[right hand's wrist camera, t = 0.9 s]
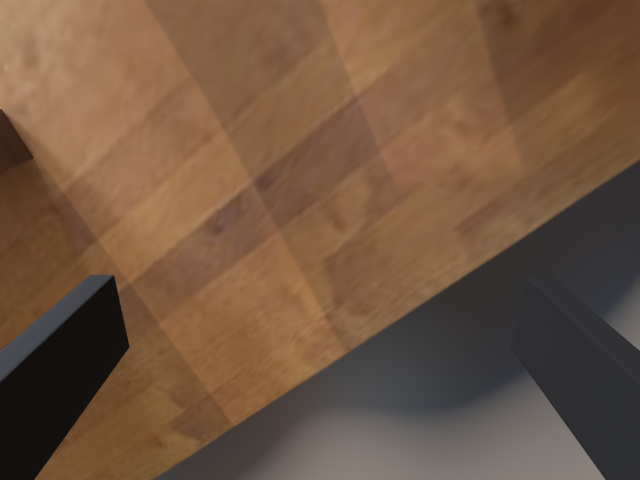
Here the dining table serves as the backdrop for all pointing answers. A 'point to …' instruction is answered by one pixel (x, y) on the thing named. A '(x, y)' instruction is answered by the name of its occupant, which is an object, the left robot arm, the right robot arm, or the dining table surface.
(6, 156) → the walnut beam
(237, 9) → the dining table surface
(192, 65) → the dining table surface
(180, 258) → the dining table surface
